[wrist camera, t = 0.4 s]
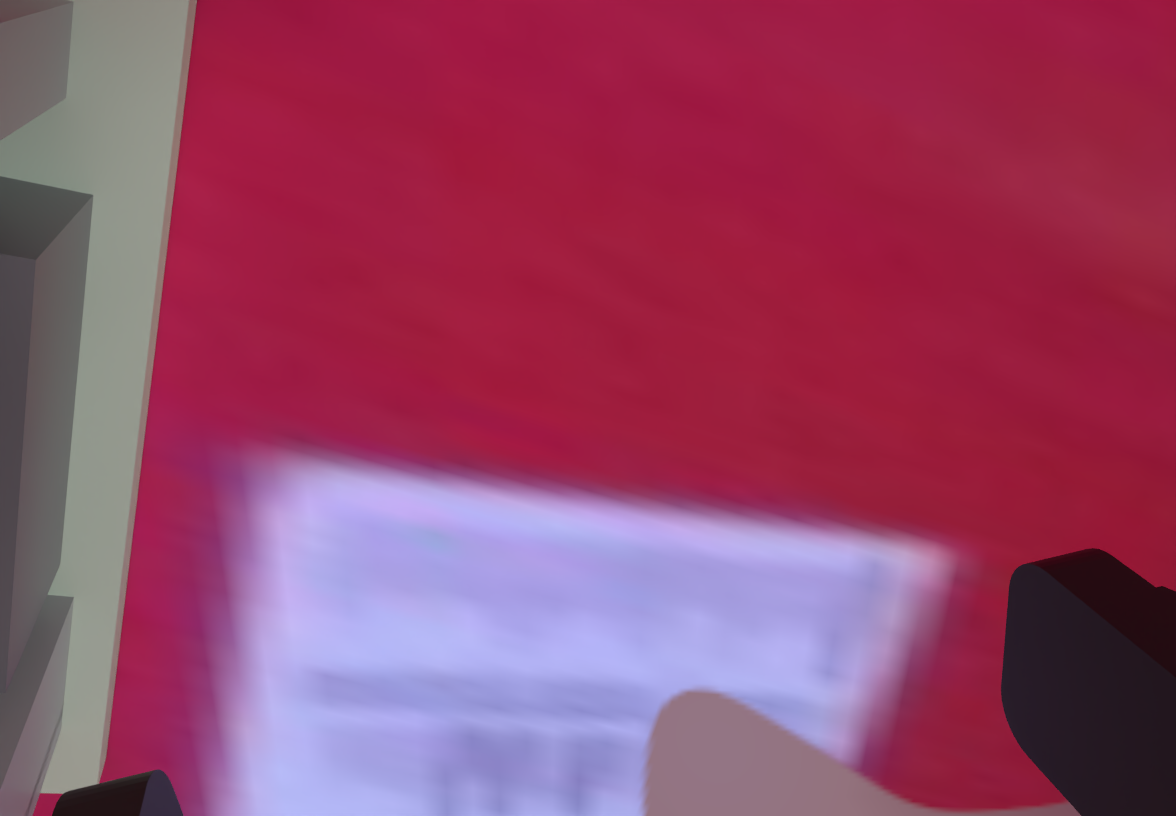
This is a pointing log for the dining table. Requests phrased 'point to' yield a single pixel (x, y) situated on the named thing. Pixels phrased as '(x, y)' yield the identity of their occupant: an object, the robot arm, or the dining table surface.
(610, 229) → the dining table surface
